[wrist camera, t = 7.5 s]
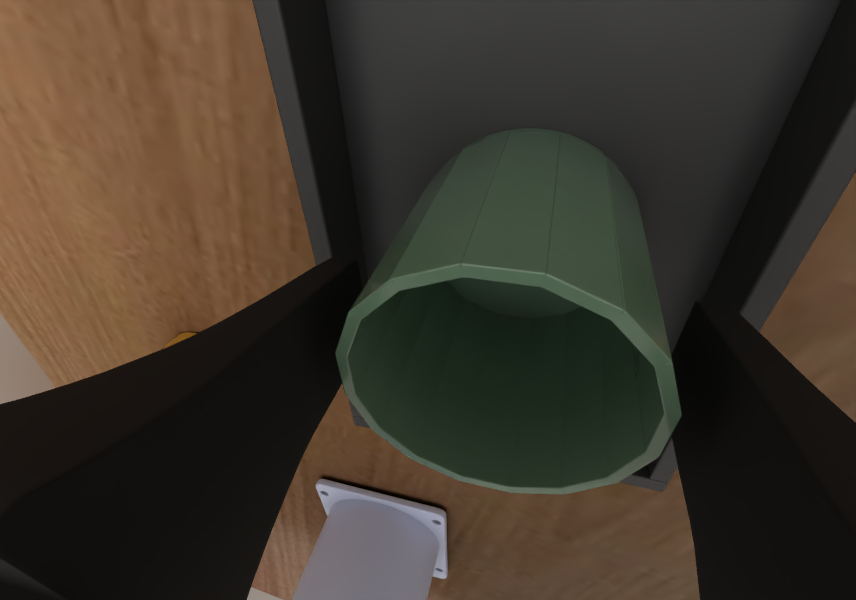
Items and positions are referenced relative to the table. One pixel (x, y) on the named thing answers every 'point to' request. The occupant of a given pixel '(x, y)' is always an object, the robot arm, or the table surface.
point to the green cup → (517, 323)
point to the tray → (582, 123)
